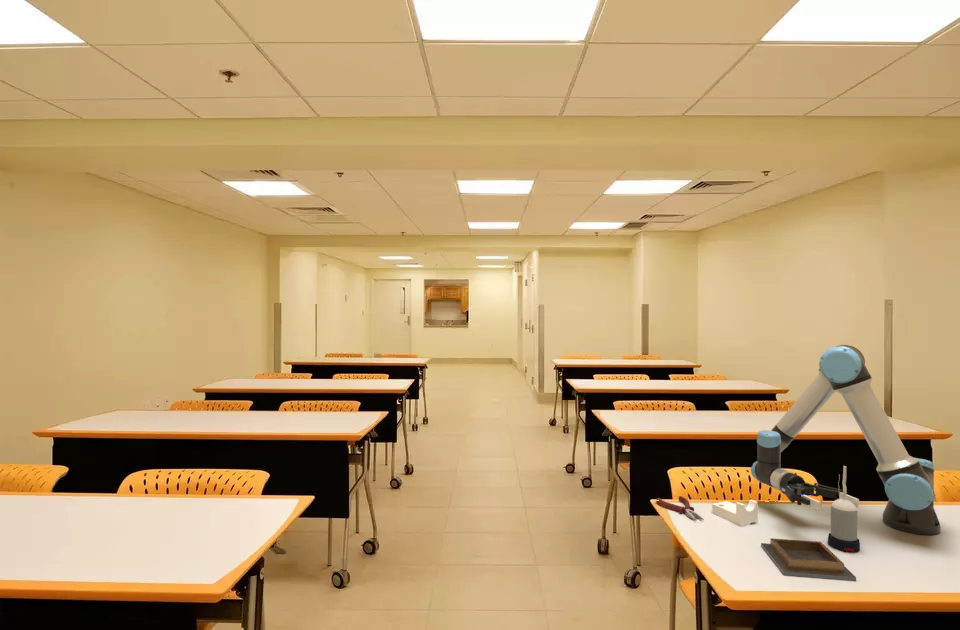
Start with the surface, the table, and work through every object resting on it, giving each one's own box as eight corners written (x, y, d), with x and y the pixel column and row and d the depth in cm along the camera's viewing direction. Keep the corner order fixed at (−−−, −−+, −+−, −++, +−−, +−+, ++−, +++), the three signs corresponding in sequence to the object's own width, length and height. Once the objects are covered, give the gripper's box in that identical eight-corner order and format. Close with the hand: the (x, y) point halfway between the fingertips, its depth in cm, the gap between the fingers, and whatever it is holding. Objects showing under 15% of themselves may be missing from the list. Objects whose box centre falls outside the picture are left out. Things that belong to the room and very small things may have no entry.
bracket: (757, 524, 181) (757, 502, 181) (742, 527, 178) (742, 505, 178) (726, 510, 193) (727, 490, 193) (712, 513, 190) (712, 492, 190)
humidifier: (847, 554, 158) (848, 471, 157) (821, 543, 165) (822, 463, 165) (866, 550, 160) (867, 468, 160) (840, 539, 168) (840, 461, 168)
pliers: (685, 524, 181) (685, 517, 181) (654, 503, 200) (654, 496, 200) (714, 522, 183) (714, 514, 183) (681, 501, 203) (681, 494, 203)
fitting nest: (825, 550, 160) (825, 539, 160) (856, 581, 142) (856, 568, 142) (761, 546, 163) (761, 535, 163) (783, 575, 146) (783, 562, 146)
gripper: (819, 491, 187) (873, 514, 166) (756, 495, 183) (803, 519, 162) (819, 470, 187) (873, 490, 166) (756, 474, 183) (803, 495, 162)
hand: (839, 505), depth 164 cm, fingers open, 13 cm apart
